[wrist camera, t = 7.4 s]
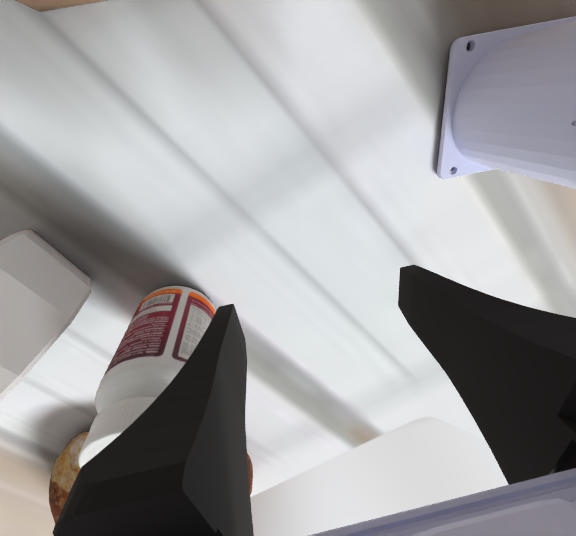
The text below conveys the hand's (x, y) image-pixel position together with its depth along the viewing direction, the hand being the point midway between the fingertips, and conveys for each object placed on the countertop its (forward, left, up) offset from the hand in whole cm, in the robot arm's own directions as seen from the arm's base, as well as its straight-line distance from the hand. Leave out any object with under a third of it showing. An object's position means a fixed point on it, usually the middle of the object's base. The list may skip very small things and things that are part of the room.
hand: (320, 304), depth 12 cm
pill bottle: (+10, +6, -10) cm, 15 cm away
